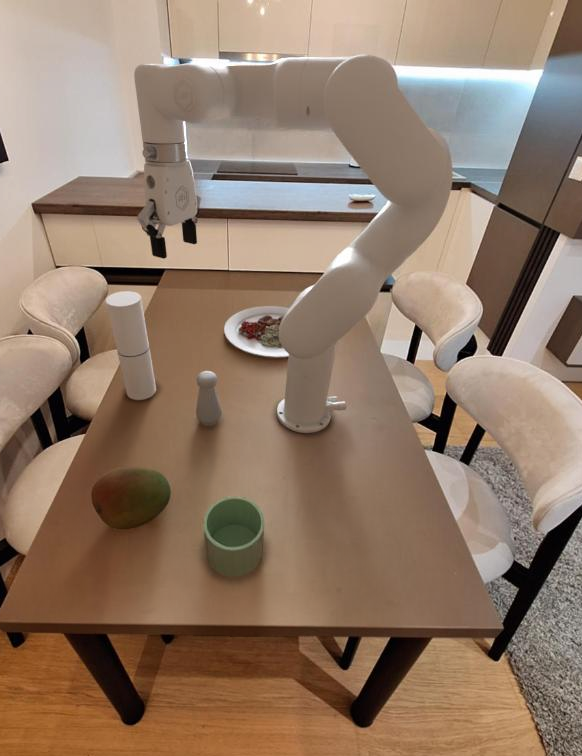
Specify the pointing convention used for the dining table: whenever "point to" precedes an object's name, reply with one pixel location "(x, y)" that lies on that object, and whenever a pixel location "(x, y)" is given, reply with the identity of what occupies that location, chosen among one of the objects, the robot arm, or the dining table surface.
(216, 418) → the salt shaker
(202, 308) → the dining table surface
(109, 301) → the cylindrical container
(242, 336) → the plated food
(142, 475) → the fruit
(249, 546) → the cup
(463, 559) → the dining table surface
